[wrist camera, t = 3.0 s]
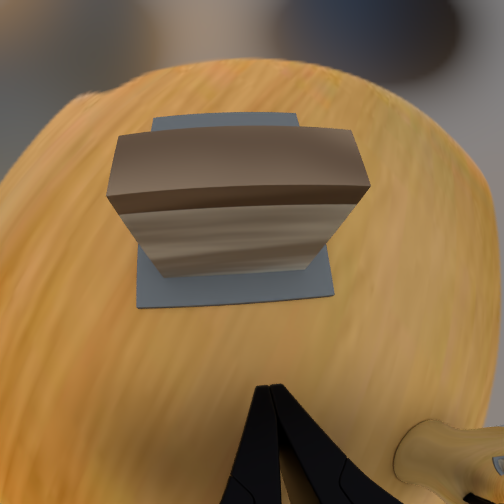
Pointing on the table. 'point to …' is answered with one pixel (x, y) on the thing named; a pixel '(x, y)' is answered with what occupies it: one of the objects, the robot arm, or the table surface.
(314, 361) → the table surface
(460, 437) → the beer glass
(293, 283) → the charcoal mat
